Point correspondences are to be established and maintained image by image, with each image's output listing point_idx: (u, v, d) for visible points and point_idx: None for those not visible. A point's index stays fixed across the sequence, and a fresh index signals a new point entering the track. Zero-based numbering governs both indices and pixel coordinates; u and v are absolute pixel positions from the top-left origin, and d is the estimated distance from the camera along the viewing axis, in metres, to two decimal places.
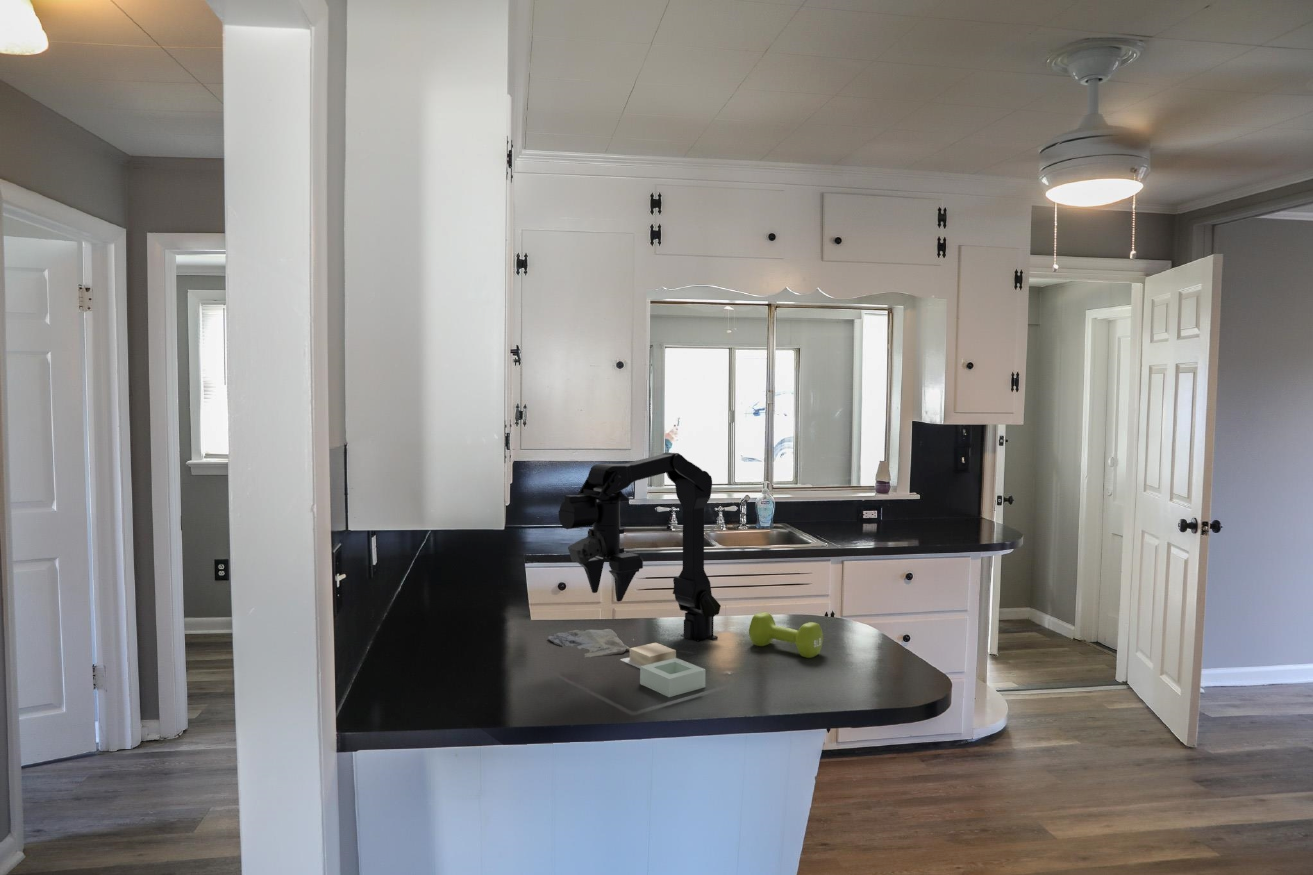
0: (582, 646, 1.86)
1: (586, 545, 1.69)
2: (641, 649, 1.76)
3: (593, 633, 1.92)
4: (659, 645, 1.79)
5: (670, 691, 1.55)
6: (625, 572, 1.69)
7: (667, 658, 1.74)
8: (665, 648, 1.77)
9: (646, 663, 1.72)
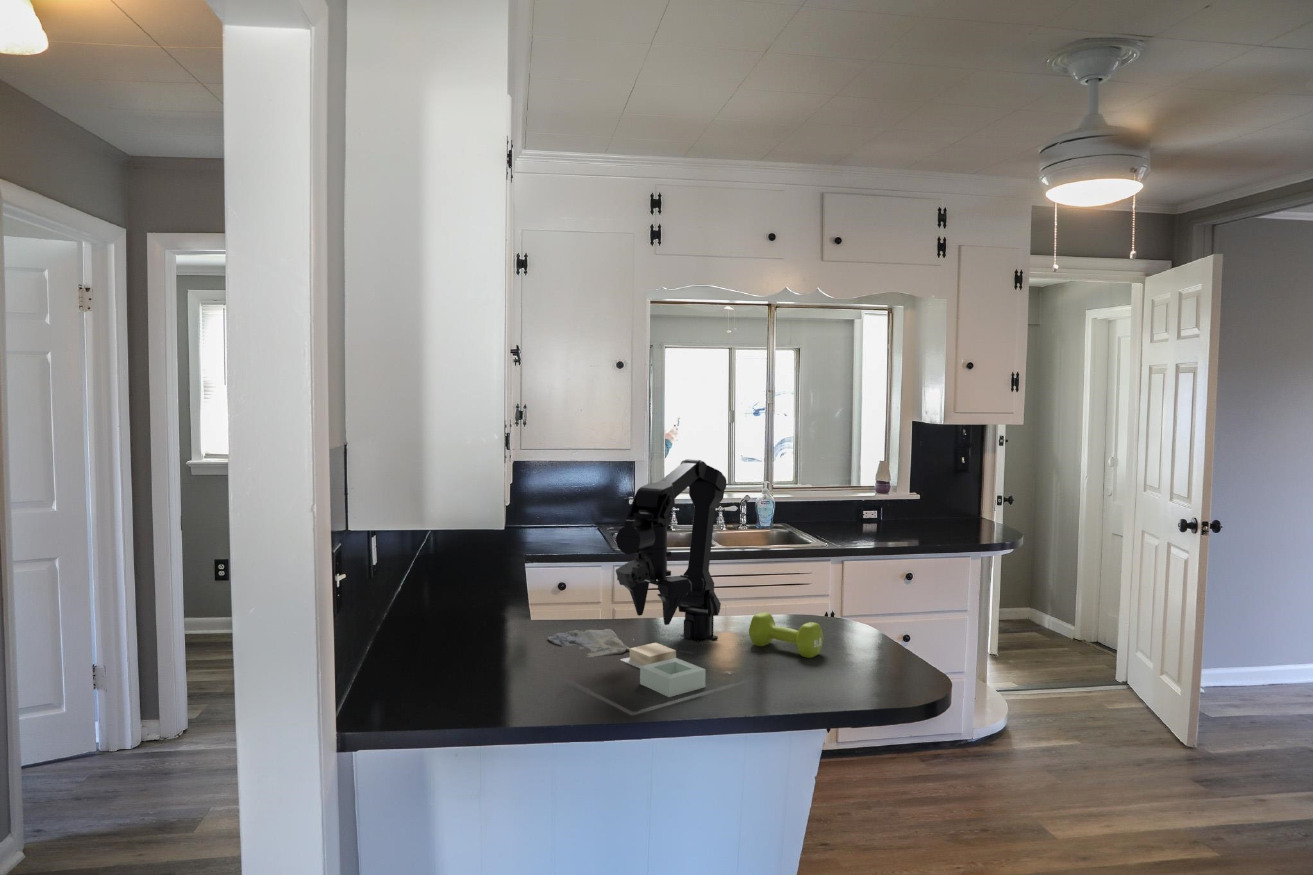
0: None
1: (635, 569, 1.68)
2: (641, 649, 1.76)
3: (593, 633, 1.92)
4: (659, 645, 1.79)
5: (670, 691, 1.55)
6: (674, 596, 1.69)
7: (667, 658, 1.74)
8: (665, 648, 1.77)
9: (646, 663, 1.72)
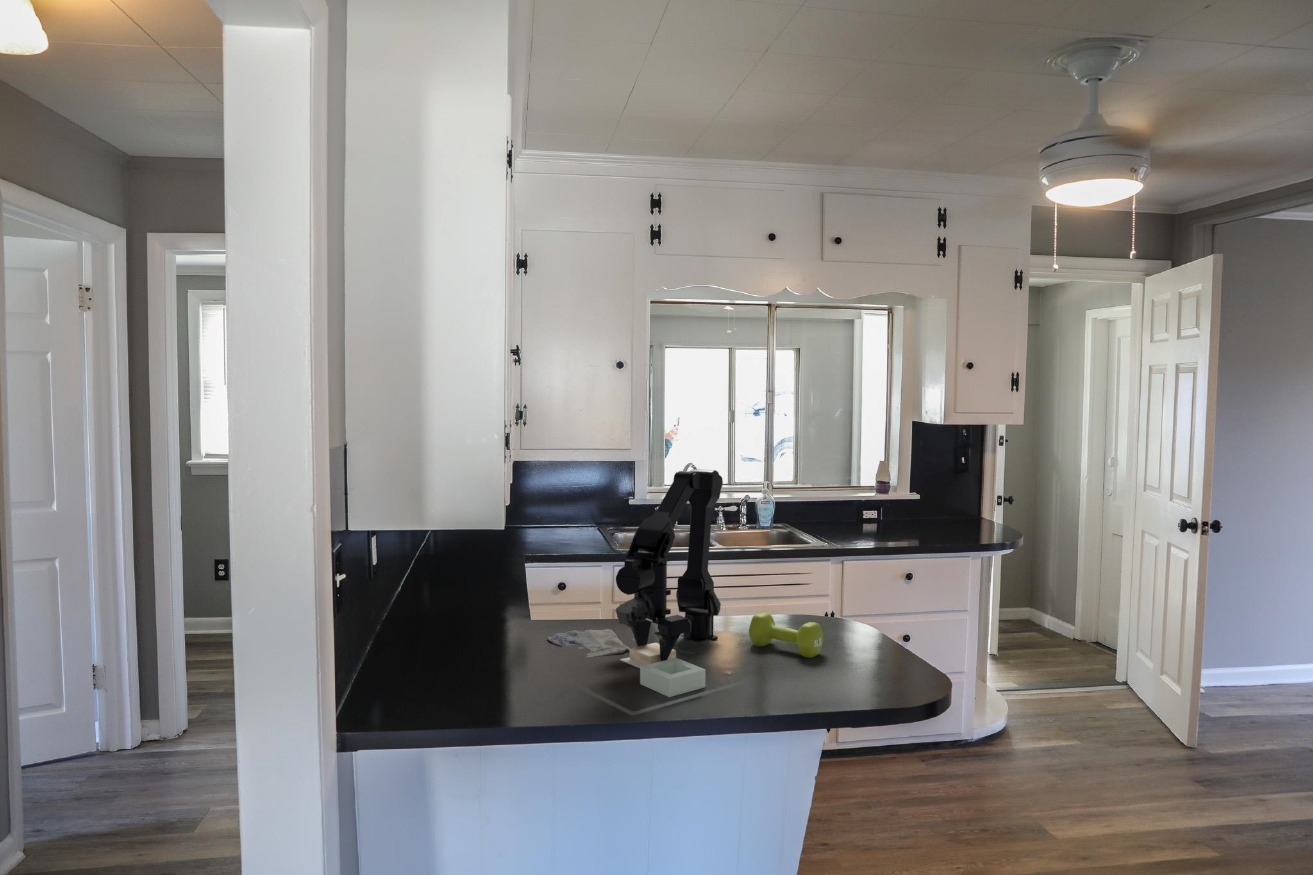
0: (582, 647, 1.86)
1: (635, 608, 1.68)
2: (641, 649, 1.76)
3: (593, 633, 1.92)
4: (659, 645, 1.79)
5: (670, 691, 1.55)
6: None
7: None
8: None
9: (646, 663, 1.72)
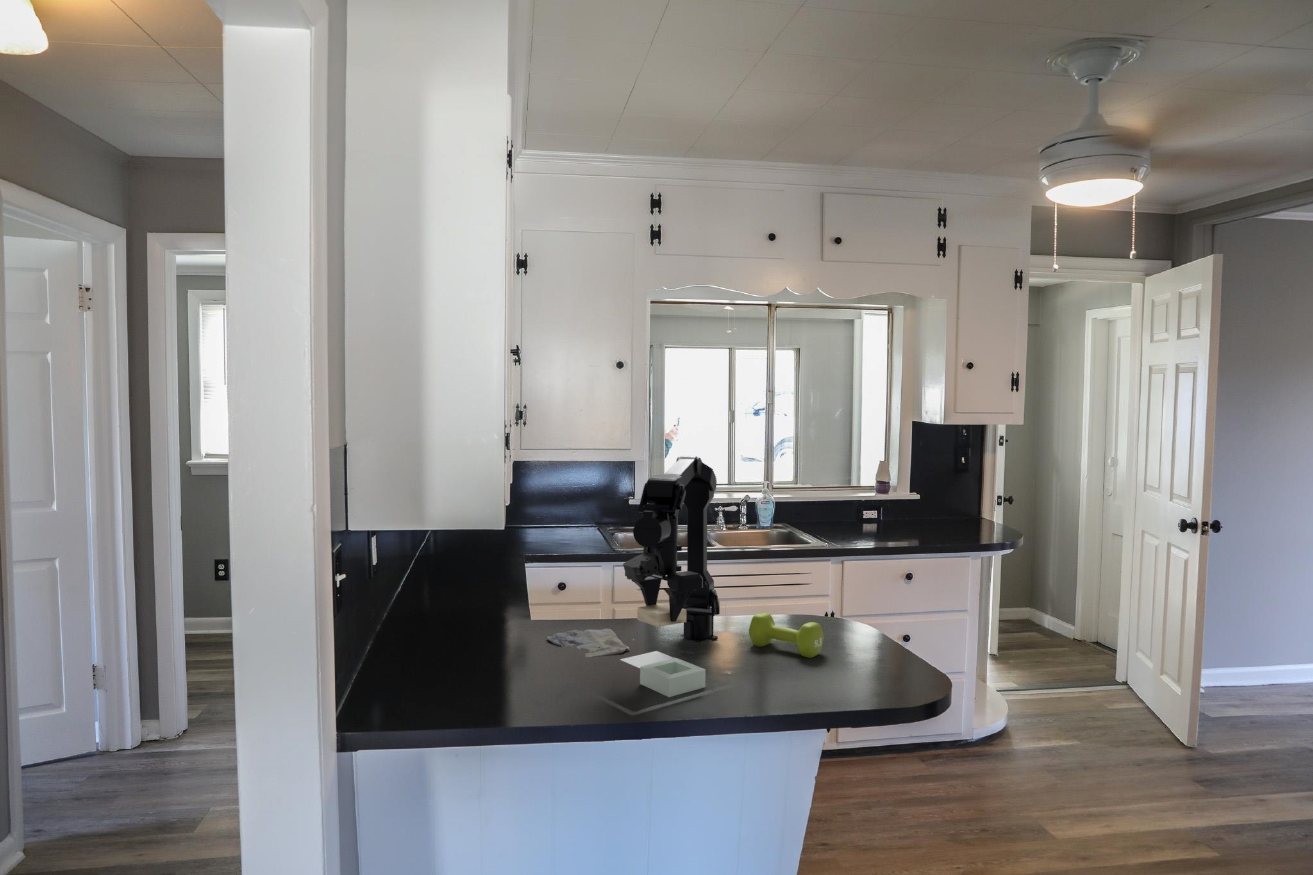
0: (582, 646, 1.86)
1: (644, 562, 1.59)
2: (649, 608, 1.66)
3: (592, 633, 1.92)
4: None
5: (670, 691, 1.55)
6: (681, 591, 1.60)
7: None
8: None
9: (655, 621, 1.63)
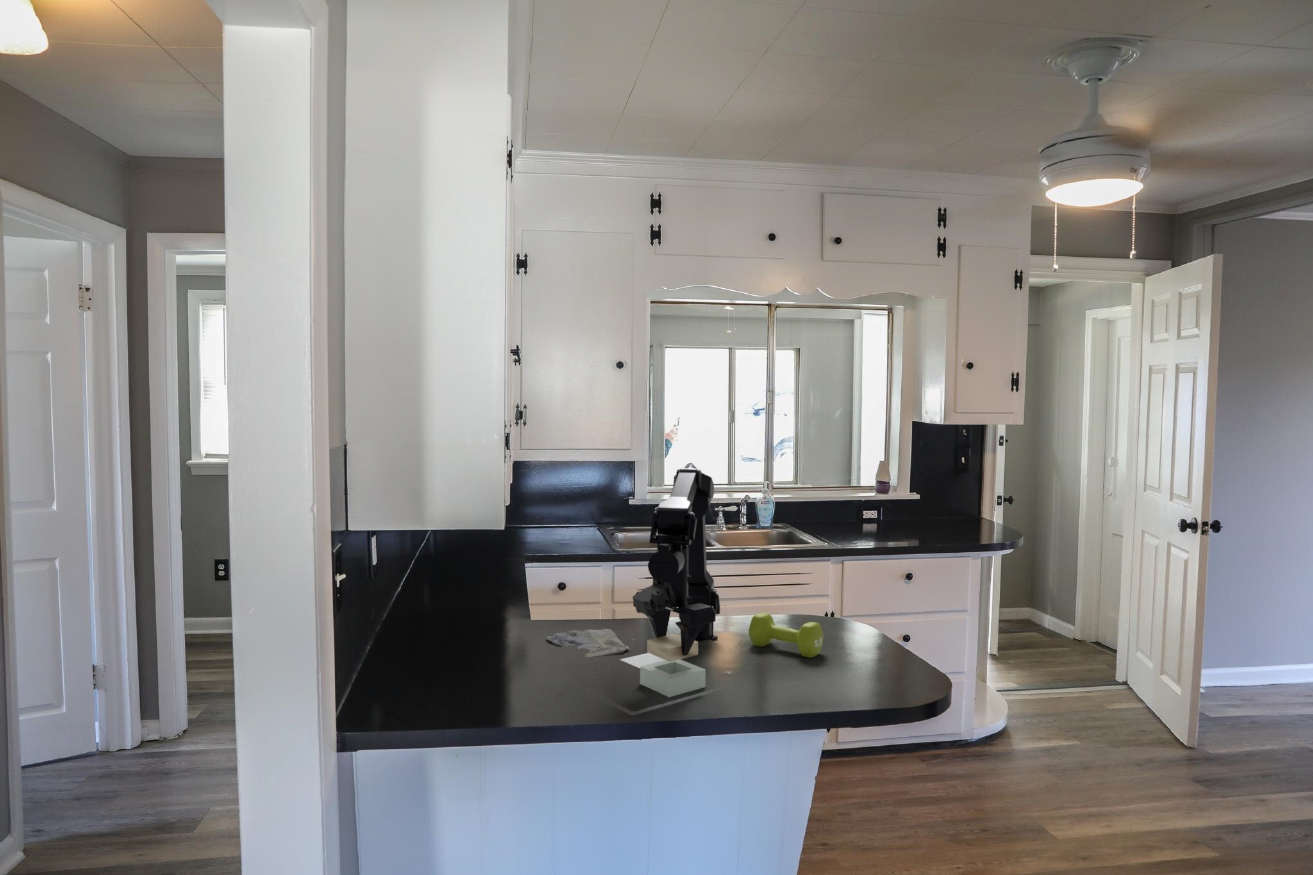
0: (581, 646, 1.86)
1: (654, 596, 1.53)
2: (660, 641, 1.61)
3: (592, 633, 1.92)
4: (679, 636, 1.64)
5: (670, 691, 1.55)
6: None
7: None
8: None
9: (666, 656, 1.57)
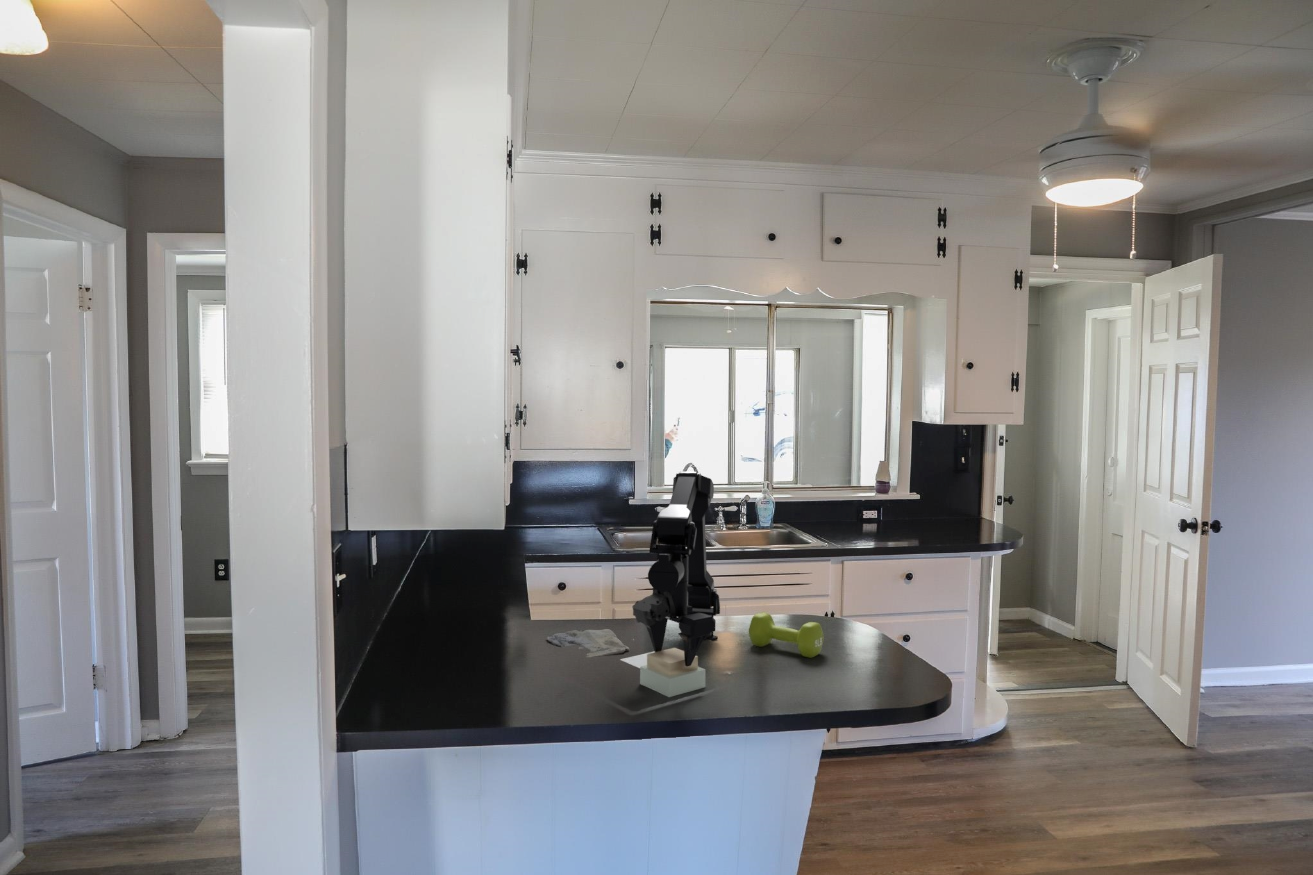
0: (581, 647, 1.86)
1: (654, 606, 1.53)
2: (659, 655, 1.61)
3: (592, 633, 1.92)
4: (679, 650, 1.64)
5: (670, 691, 1.55)
6: (697, 635, 1.54)
7: None
8: None
9: (666, 670, 1.57)
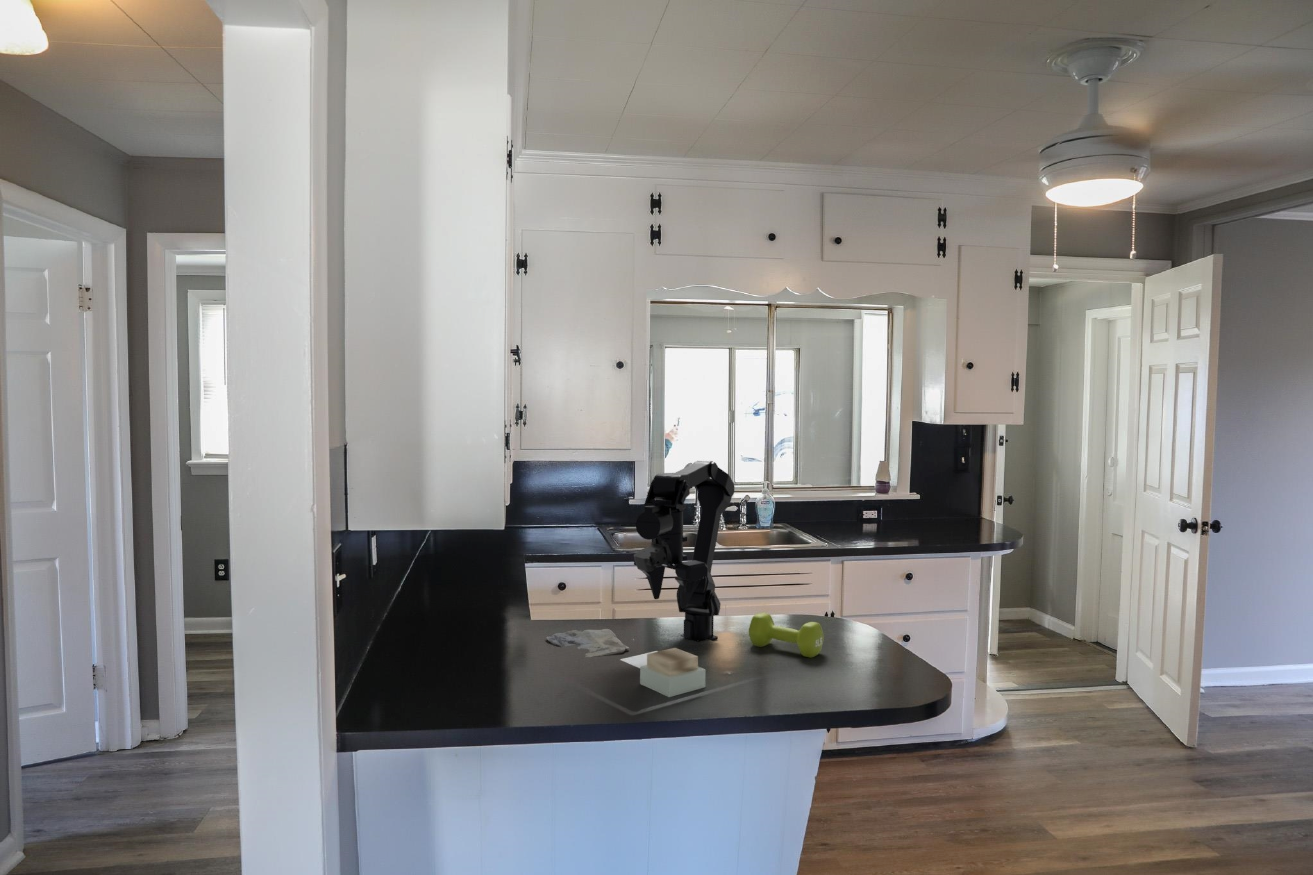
0: (581, 646, 1.86)
1: (653, 553, 1.72)
2: (659, 655, 1.61)
3: (591, 633, 1.92)
4: (679, 650, 1.64)
5: (670, 691, 1.55)
6: (691, 579, 1.73)
7: (688, 665, 1.59)
8: (686, 654, 1.62)
9: (666, 670, 1.57)
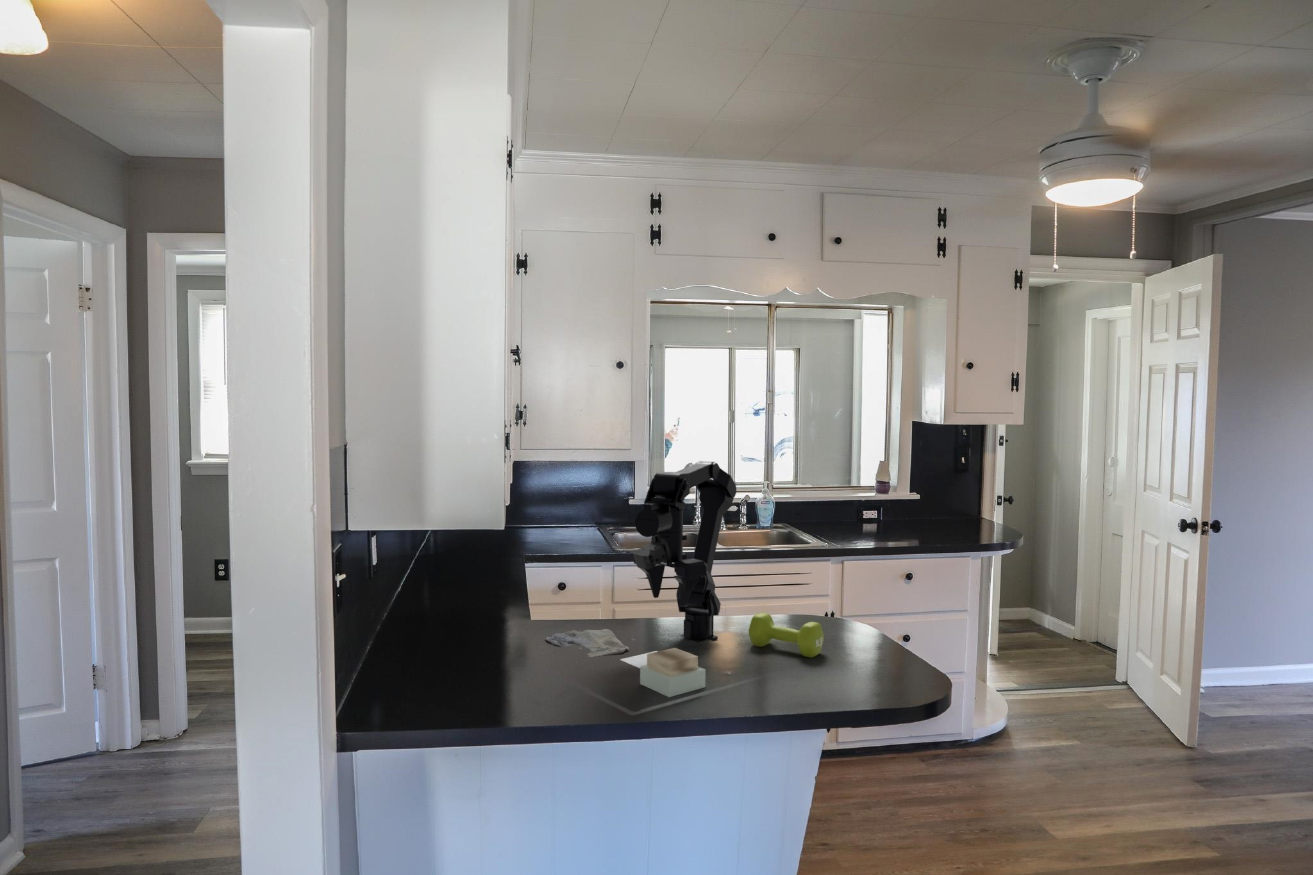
0: None
1: (652, 551, 1.73)
2: (659, 655, 1.61)
3: (591, 633, 1.92)
4: (679, 650, 1.64)
5: (670, 691, 1.55)
6: (690, 577, 1.74)
7: (688, 665, 1.59)
8: (686, 654, 1.62)
9: (666, 670, 1.57)
